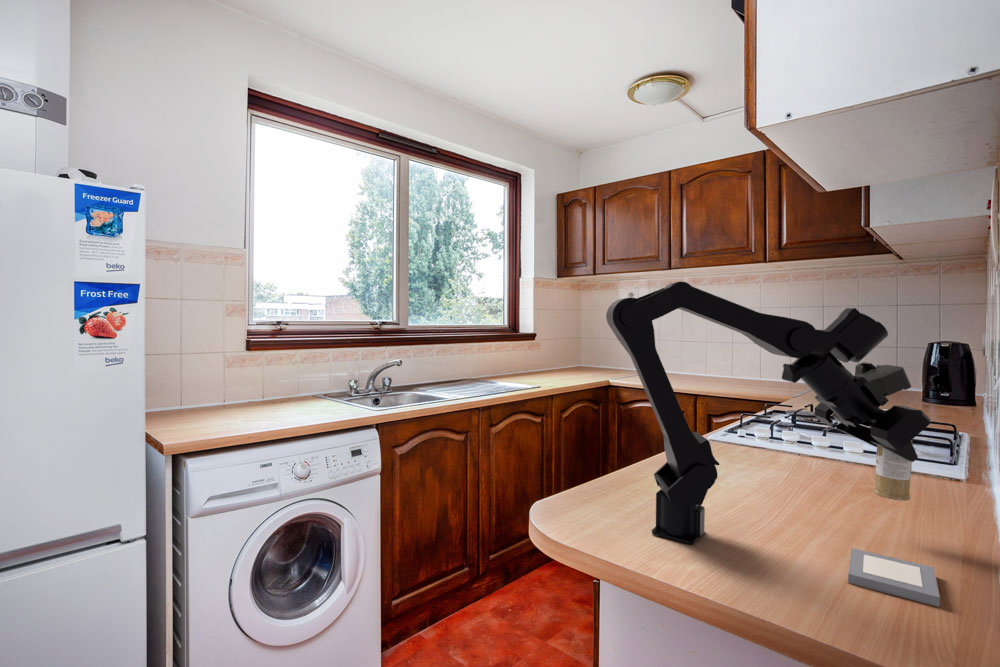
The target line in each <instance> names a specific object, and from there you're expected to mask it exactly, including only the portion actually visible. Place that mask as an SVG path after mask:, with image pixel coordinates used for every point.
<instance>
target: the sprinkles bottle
mask: <svg viewBox="0 0 1000 667" xmlns="http://www.w3.org/2000/svg"><path fill="white" fill-rule="evenodd" d="M888 409H889V408H888ZM888 409H886V408H885V409H883V408H882V410H888ZM911 442H912V443H913V439H912V440H911ZM875 455H876V456H875V488H874V489H873V490H874V494H875V495H877V496H878V497H880V498H885V499H888V500H892V501H899V502H906V501H910V500H911V494H910V491H911V490H910V489H911V479H912V470H913V469H912V465H913V462H911V461H909V460H907V459H905V458H903V457H901V456H899V455H897V454H895V453H893V452H891V451H888V450H886V449H884V448H882V447H880V446H878V445H877V447H876V454H875Z"/></svg>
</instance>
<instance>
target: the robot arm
mask: <svg viewBox="0 0 1000 667" xmlns="http://www.w3.org/2000/svg"><path fill="white" fill-rule="evenodd" d="M675 310H681V311H684V312H686V313H689V314H691V315H695V316H697V317H699V318H702V319H704V320H705V321H709V322H710V323H714V324H717V325H719V326H722V327H724V328H727V329H730V330H732V331H735V332H736V333H739V334H742V335H743V336H745V337H746V338H748V339H749V340H751V342H753V343H754V344H755V345H757V346H758V347H760V348H762V349H764V350H765V351H767V352H768V353H770V354H773V355H776V356H781V357H787V358H792V359H793V358H794V359H795V360H794V361H793V362H792V363H783V364H782V367H783V370H782V375H781V380H783V381H786V382H791V383H794V384H795V383H797V382H798V381H800V380H802V382H804V384H806V385H807V386H808V387H809V388H810V389H811V390H812V392H813V393H815V395H816V396H815V397H814V399H815V400H816V401H817V402H818V404H817V405H816V406H815V407H814V416H815V417H816V418H817V419H818V420H819V421H820V422H821V423H823V424H825V425H827V426H830V427H832V425H834V421H835V422H837V423H838V424H837V425H836V426H835V429H837V430H838V431H841V432H842V433H845V434H847V435H848V436H851V437H854V438H856V439H857V440H860V441H862V442H864V443H867V444H869V445H870V446H873V447H875V448H877V445H878V446H880V447H882V448H884V449H886V450H888V451H891V452H893V453H895V454H897V455H899V456H901V457H903V458H905V459H907V460H909V461H911V462H912V463H914V462H915V461H916V460H917V459H918V458H919V457H918V455H917V454H918V453H917V452H916V449H915V447H914V445H913V439H915V438H916V437H917V436H918V435H919V434H920V433H922V432H923V431H924V430H925V429H926V428H927V427H928V426H929V425H931V424H932V423H931V419H930V417H929V416H928V415H927V414H926V413H925V412H924V411H923V410H921V409H919V408H915V407H910V406H906V405H893V406H892V407H890V408H888V410H883V408H880V407H882V406H885V405H886V404H887V403H889V401H890V400H889V399H888V398H887V397H888V396H890V395H893V394H895V393H898V392H901V391H903V390H905V391H906V390H908V389H911V388H912V384H911V382H910V379H909V378H908V375H907V373H906V370H905V368H904V367H903V366H898V365H891V364H883V365H881V364H877V365H876V366H875V364H872V363H871V362H866V361H865V362H864V361H862V360H863V359H865V357H866V356H867V355H868V354H869V353H871V352H872V351H873V350H874V349H875V348H876V347H878V345H879V344H881V343H882V342H883V341H884V340H885V339H886V338H888V337H889V331H888V330H887V328H886V327H885V326H884V325H883V323H881V322H880V321H876V320H875V319H874V318H873V317H871V316H869V315H867V314H865V313H861V312H860V311H859V310H858V309H857V308H856V307H855V308H854V307H852V308H851V307H849V308H845V309H844V310H843V311H842V312H840V314H839V315H838V316H837V318H836V319H834V320H833V321H832V322H831V323H830V324H829V325H828V326H827V327H826V328H825V329H816V328H815V326H813V324H811V323H809V322H808V321H805V320H801V319H796V318H791V317H788V316H787V317H786V316H780V315H774V314H768V313H763V312H759V311H756V310H754V309H751V308H748V307H746V306H743V305H740V304H737V303H736V302H733V301H731V300H728V299H725V298H723V297H720V296H717V295H715V294H712V293H710V292H708V291H705V290H702V289H699V288H697V287H695V286H693V285H691V284H690V283H688V282H686V281H682V280H681V281H676V282H671V283H669V284H667V285H665V287H662V288H660V289H658V290H655V291H652V292H650V293H648V294H645V295H641V296H640V297H625V298H620V299H616V300H615V301H613V302H612V303H611V304H610V305H609V307H608V309H607V310H606V314H605V315H606V316H605V319H606V322H607V325H608V327H609V328H610V329H611V331H612V333H613V334H614V336H615V338H617V341H619V344H620V345H621V346H622V347H623V349H625V351H626V352H627V353H628V355H629V357H630V359H631V360H632V365H633V366H634V368H635V372H636V373H637V375H638V378H639V379H640V382H641V385H642V387H643V389H644V392H645V394H646V396H647V399H648V401H649V403H650V404H649V405H651V408H652V411H653V413H654V415H655V418H656V420H657V423H658V424H659V427H660V430H661V432H662V436H663V445H664V446H663V448H664V453H665V457H666V462H665V463H664V464H663V465H661V467H660V468H659V469H658V470H656V471H655V472H654V473H653V477H654V479H655V483H656V484H657V487H659V490H658V491H657V492H655V526H654V527H653V529H651V534H653V535H656V536H658V537H663V538H665V539H669V540H673V541H676V542H679V543H684V544H689V545H694V544H695V543H696V542H697V541H698V539H699V538H700V537H701V536H702V535H703V534H704V533H705V522H706V521H705V518H706V517H705V514H706V513H705V512H706V510H705V507H704V506H702V505H703V503H704V500H705V499H706V495H707V493H708V490H710V489H711V488H712V486H714V485H715V482H716V480H717V479H718V469H717V467H716V466H719V465H720V462H719V461H717V460H716V459H715V456H714V454H713V451H712V450H713V449H712V446H711V443H710V441H709V439H707V438H706V437H704V436H703V435H701V434H700V433H699V432H697V431H693V432H692V430H691V429H690V427H689V424H688V422H687V420H686V417H685V415H684V413H683V410H682V408H681V405H680V403H679V400H678V398H677V395H676V393H675V391H674V389H673V386H672V384H671V382H670V380H669V377H668V375H667V371H666V369H665V367H664V365H663V362H662V361H661V358H660V355H659V354H658V351H657V346H656V336H655V328H654V323H653V321H655V320H657V319H659V318H662V317H663V316H666V315H667V314H670V313H671V312H674V311H675ZM861 361H862V362H861ZM849 362H852V363H858V364H855V370H854V374H852V373H851V371H850V370H848V368H846V366H845V365H844V364H843V363H849ZM911 440H912V442H911Z"/></svg>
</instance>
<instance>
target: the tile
mask: <svg viewBox="0 0 1000 667" xmlns="http://www.w3.org/2000/svg"><path fill="white" fill-rule="evenodd" d="M849 559H850V560H849V565H848V566H849V567H848V576H847V577H848V578H847V582H848V584H851V585H855V586H860V587H863V588H867V589H869V590H872V591H873V590H874V591H877V592H881V593H885V594H889V595H893V596H896V597H899V598H900V597H901V598H903V599H908V600H912V601H915V602H917V603H918V602H919V603H922V604H926V605H930V606H934V607H937V608H940V606H941V604H940V603H941V598H940V597H941V596H940V591H939V588H938V587H939V586H938V582H937V577H936V572H935V568H934V566H930V565H925V564H921V563H917V562H912V561H909V560H903V559H901V558H900V559H899V558H895V557H891V556H887V555H883V554H879V553H873V552H869V551H865V550H861V549H856V548H853V547H851V550H850V558H849Z"/></svg>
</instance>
